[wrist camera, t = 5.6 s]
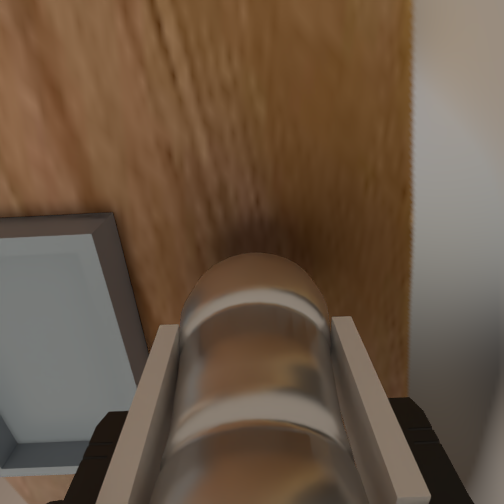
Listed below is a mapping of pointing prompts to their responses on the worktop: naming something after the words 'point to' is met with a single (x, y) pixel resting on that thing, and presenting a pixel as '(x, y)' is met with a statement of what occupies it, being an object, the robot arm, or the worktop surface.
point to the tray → (63, 338)
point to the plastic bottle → (256, 393)
